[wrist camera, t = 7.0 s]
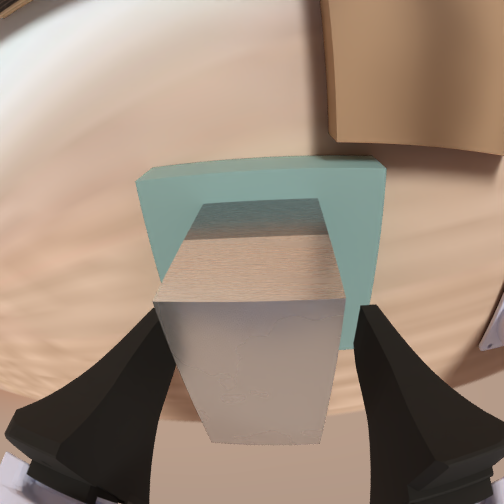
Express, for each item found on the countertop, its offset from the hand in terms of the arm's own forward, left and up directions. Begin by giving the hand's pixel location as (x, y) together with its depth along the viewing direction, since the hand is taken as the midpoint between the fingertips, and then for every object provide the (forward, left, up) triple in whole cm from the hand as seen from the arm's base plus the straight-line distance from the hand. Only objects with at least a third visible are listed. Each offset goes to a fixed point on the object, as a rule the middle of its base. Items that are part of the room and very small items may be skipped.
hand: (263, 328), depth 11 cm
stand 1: (0, 0, -5) cm, 5 cm away
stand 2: (-8, -11, -5) cm, 14 cm away
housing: (0, 0, -3) cm, 3 cm away
